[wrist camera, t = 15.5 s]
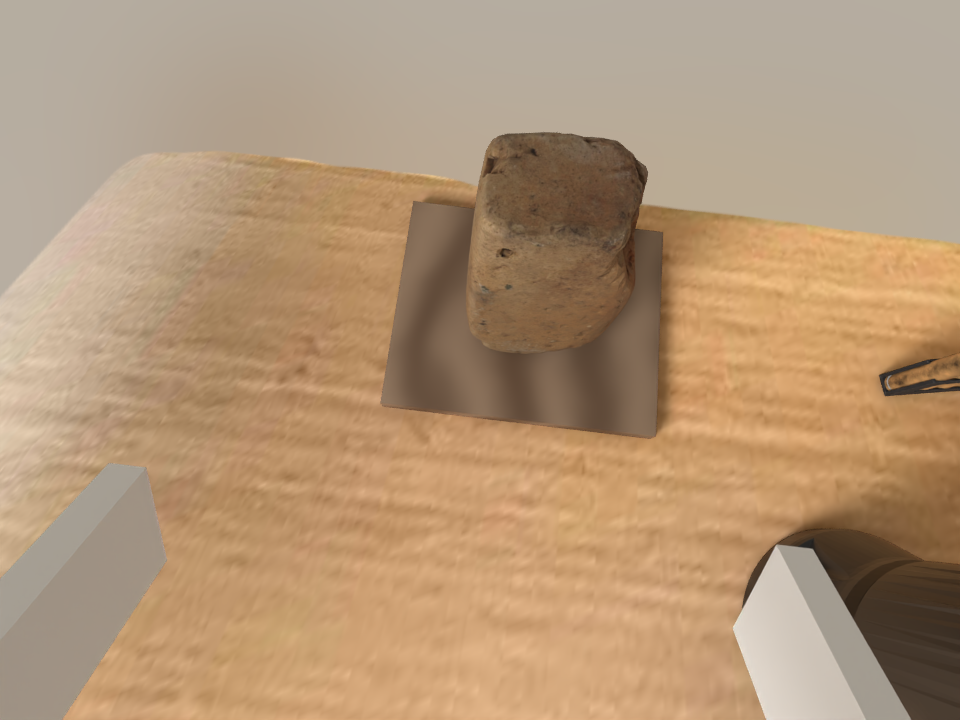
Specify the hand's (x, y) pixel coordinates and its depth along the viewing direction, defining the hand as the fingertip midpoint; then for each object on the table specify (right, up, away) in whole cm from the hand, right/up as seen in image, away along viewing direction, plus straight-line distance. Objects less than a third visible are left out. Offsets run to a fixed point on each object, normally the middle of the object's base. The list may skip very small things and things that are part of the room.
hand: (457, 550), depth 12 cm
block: (+5, +8, +36) cm, 37 cm away
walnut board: (+5, +8, +37) cm, 38 cm away
